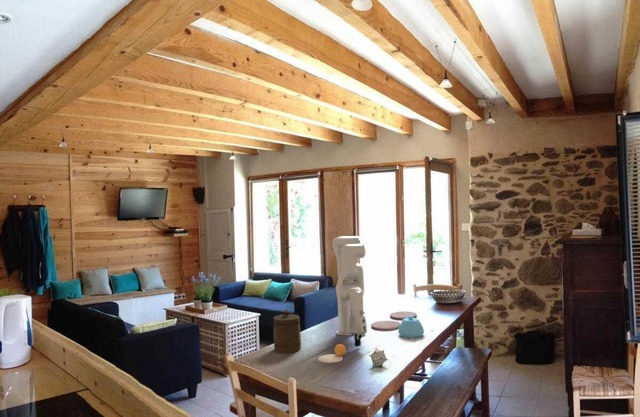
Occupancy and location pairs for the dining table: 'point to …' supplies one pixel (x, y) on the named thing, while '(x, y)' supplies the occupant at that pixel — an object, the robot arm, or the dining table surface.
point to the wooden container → (287, 333)
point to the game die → (378, 357)
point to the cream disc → (330, 358)
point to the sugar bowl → (411, 328)
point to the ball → (340, 350)
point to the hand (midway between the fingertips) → (357, 345)
